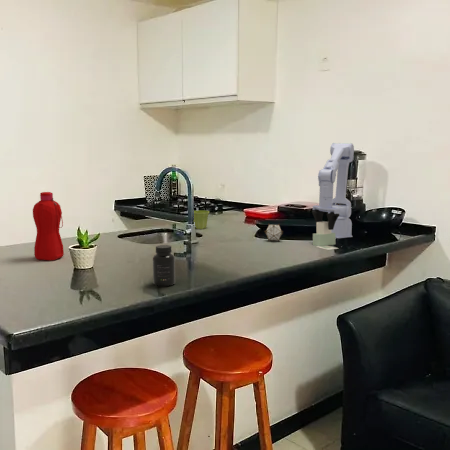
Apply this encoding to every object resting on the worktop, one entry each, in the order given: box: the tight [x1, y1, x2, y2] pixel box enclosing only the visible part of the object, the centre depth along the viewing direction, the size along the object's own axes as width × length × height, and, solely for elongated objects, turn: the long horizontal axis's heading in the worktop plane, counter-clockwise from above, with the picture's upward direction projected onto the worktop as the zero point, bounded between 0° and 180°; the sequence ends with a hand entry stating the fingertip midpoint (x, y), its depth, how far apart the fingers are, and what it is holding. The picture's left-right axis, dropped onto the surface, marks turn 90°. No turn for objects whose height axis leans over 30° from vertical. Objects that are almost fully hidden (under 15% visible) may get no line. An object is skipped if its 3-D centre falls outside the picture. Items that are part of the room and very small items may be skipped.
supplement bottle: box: [152, 244, 176, 287], centre depth 158 cm, size 7×7×12 cm
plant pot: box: [193, 210, 210, 230], centre depth 263 cm, size 9×9×9 cm
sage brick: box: [312, 232, 336, 246], centre depth 222 cm, size 9×4×5 cm, turn 121°
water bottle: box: [32, 191, 65, 261], centre depth 190 cm, size 9×11×25 cm
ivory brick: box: [315, 220, 331, 234], centre depth 221 cm, size 4×4×5 cm
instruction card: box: [314, 245, 339, 251], centre depth 217 cm, size 6×8×1 cm
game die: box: [264, 222, 284, 242], centre depth 230 cm, size 9×8×10 cm
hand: (324, 228), depth 222 cm, fingers open, 7 cm apart
